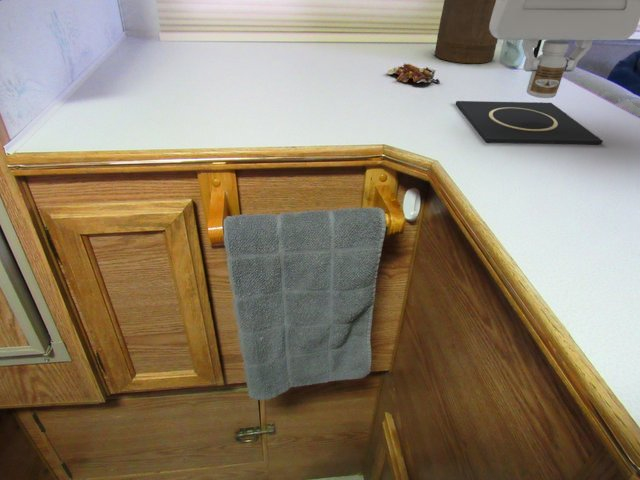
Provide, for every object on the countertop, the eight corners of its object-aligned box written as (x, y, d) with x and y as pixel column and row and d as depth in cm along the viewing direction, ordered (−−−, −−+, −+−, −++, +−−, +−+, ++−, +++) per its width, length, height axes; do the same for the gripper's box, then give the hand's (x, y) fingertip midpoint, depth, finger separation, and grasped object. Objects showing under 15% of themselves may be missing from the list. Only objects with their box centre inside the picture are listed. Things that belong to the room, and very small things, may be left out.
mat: (550, 105, 80) (551, 101, 80) (601, 144, 65) (603, 139, 65) (455, 104, 80) (456, 99, 79) (486, 142, 65) (487, 137, 65)
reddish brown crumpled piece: (398, 70, 98) (400, 54, 96) (441, 82, 91) (444, 65, 89) (377, 75, 94) (379, 58, 92) (421, 88, 87) (424, 70, 85)
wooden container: (504, 62, 106) (532, -43, 93) (450, 65, 103) (471, -43, 90) (474, 49, 118) (494, -46, 105) (424, 51, 115) (440, -47, 102)
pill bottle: (529, 97, 66) (545, 44, 61) (523, 89, 69) (537, 38, 65) (559, 99, 65) (577, 45, 61) (551, 91, 69) (568, 39, 64)
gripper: (643, -37, 60) (603, 65, 68) (498, -38, 60) (476, 65, 68) (673, -34, 55) (626, 76, 63) (515, -35, 54) (489, 76, 63)
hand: (547, 70), depth 65 cm, fingers closed on pill bottle, 4 cm apart
